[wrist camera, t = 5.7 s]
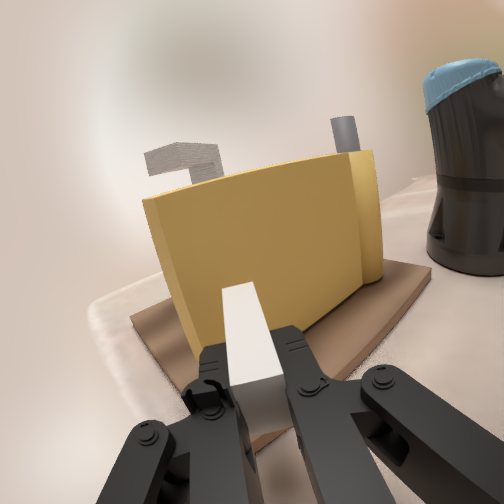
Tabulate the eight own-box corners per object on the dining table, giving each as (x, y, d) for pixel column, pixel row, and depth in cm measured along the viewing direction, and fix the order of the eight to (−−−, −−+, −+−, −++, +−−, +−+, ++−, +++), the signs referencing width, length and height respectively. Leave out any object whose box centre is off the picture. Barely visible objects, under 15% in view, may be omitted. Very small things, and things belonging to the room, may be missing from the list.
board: (430, 278, 25) (431, 267, 25) (241, 462, 12) (235, 452, 12) (290, 250, 42) (289, 242, 42) (133, 325, 29) (129, 316, 29)
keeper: (225, 280, 37) (193, 150, 31) (247, 277, 36) (217, 144, 31) (197, 333, 26) (143, 153, 20) (226, 332, 25) (176, 142, 20)
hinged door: (356, 262, 30) (336, 121, 25) (390, 268, 26) (373, 115, 21) (194, 363, 19) (125, 148, 14) (225, 394, 15) (144, 129, 11)
